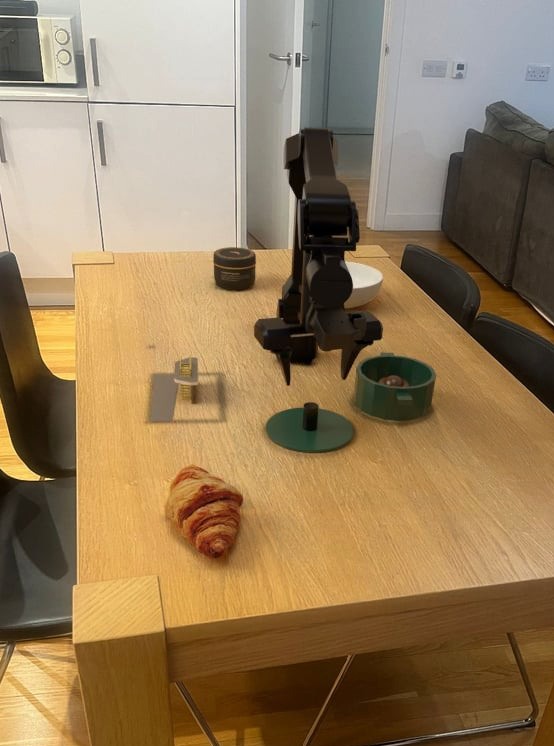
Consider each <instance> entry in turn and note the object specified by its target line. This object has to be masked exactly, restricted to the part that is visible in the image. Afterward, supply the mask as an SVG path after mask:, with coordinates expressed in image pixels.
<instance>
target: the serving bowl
mask: <svg viewBox="0 0 554 746" xmlns="http://www.w3.org/2000/svg"><path fill="white" fill-rule="evenodd" d="M345 263H346V266H347V268H348V270H349V273H350V275H351V277H352V281H353V290H352V294H351V295H350V297H349V299H348V300H347V301H346V302H345V303H344V307H345V309H353V308H357V307H362V306H364V305H366V304H367V303H369V302H372V300H374V298H376V296H378V294H379V293H380V290H381V288H382V285H383V282H384V275H383V273H382V271H380V270H379V269H377V268H374V267H373V266H370V265H367V264H363V263H359V262H354V261H347V260H345Z"/></svg>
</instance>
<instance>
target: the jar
mask: <svg viewBox="0 0 554 746" xmlns="http://www.w3.org/2000/svg"><path fill="white" fill-rule="evenodd" d="M212 263H213V279H214V283H215V285H216V286H217V288H220V289H222V290H224V291H231V292H242V291H247V290H249V289H251V288H253V286H254V284H255V281H256V265H257V255H256V252H254V250H252V249H249V248H245V247H239V246H238V247H237V246H229V247H222V248H218V249H216V250H215V251H214V252H213V260H212Z"/></svg>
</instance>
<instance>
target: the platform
mask: <svg viewBox="0 0 554 746" xmlns="http://www.w3.org/2000/svg"><path fill="white" fill-rule="evenodd" d="M198 360H199V358H198V357H196V356H195V357H193V356H192V354H189V355H188V357H186V358H180V359H179V360H177V361H174V370H173V371H174V372H173V373H155V374H153V386H152V394H151V395H152V396H151V405H150V417H149V422H150V423H152V422H153V423H154V422H155V423H156V422H157V423H158V422H161V423H162V422H174V415H175V410H176V405H177V404H176V403H177V397H178V393H179V385H180V392H181V401H191V405H193V403H194V399H193V398H194V396H193V395H194V392H193V391H194V390H193V388H194V386H198V385H199V362H198Z"/></svg>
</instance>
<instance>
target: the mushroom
mask: <svg viewBox="0 0 554 746" xmlns="http://www.w3.org/2000/svg"><path fill="white" fill-rule="evenodd" d="M379 383H380V384H384V385H388V386H397V387H409V384H408V382H407V381H406V380H404V379H401V378H400V377H399V376H396V375H391V376H388V377H385V378H382V379H380V380H379Z"/></svg>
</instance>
